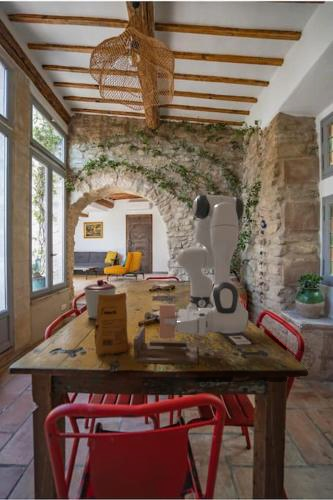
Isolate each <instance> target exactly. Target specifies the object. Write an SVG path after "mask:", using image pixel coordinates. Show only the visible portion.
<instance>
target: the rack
mask: <svg viewBox="0 0 333 500" xmlns="http://www.w3.org/2000/svg"><path fill="white" fill-rule="evenodd" d="M198 359H199V357H198V345H197V344H194V343H193V344H192V343H191V344H189V343H187V340H164V339H163V340H160V339H159V340H158V339H150V340H149V342H146V326H145V325H141V327H140V328H139V330H138V332H137V333H136V335H135V337H134V338H133V363H150V364H151V363H153V364H154V363H155V364H176V365H177V364H180V365H182V364H183V365H198Z"/></svg>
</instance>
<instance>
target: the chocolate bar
mask: <svg viewBox="0 0 333 500" xmlns="http://www.w3.org/2000/svg"><path fill="white" fill-rule="evenodd" d="M219 333H220V334H221V335H222V336H223V337H224V338H225V339H226V340H227V341H228V342H229V343H230V344H231V345H232V346H241V345H255V342H254V341H253V340H252V339H250V338H249V337H248V336H247V335H245V334H244V333H243V332H239V333H222V332H219Z"/></svg>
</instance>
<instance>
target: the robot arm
mask: <svg viewBox="0 0 333 500" xmlns="http://www.w3.org/2000/svg"><path fill="white" fill-rule="evenodd" d="M244 209H245V205H244V202H243V200H242V198H238V197H235V196H229V195H228V196H227V195H221V194H220V195H218V194H217V195H213V194H209V195H207V194H200V195H199V194H198V195H197V196H196V197H195V198H194V201H193V203H192V213H193V215H194V216H195V218H197V225H196V231H195V235H194V236H195V240H196V241H197V242H198V243H199V244H200V245H202V246H201V247H186V248H181V249H180V250H179V252H178V253H177V257H176V261H177V264H178V265H179V267H180V268H181V269H183V271H185V272H186V274H187V275H188V279H189V283H190V295H189V302H190V303H189V304H188V305H187V306H186V308H180V309H178V313H175V318H174V319H172V318H165V324H172V325H175V332H177V333H180V334H187V335H188V334H189V335H196V334H198V336H202V337H203V336H206V334H209V333H211V334H213V333H216V332H217V333H220V332H222V333H239V332H241V333H243V332H244V331H245V330H246V329H247V327H248V325H249V311H248V310H247V309H246V308H245V306H244V304H243V302H242V301H241V298H240V295H239V292H238V288H237V287H236V286H235V285H234V284H232V283H230V282H231V280H230V279H231V264H232V263H231V262H232V258H233V255H234V253H235V251H236V249H237V248H238V241H239V234H240V233H239V231H240V229H239V221H240V219H242V217H243V214H244ZM206 269H207V270H209V269H210V270H211V269H213V270H214V271H213V272H214V273H213V274H214V275H213V281H212V279H211V278H210V277H209V276H207V275H205V274H204V273H203V270H206Z"/></svg>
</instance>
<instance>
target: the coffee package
mask: <svg viewBox="0 0 333 500" xmlns="http://www.w3.org/2000/svg"><path fill="white" fill-rule="evenodd" d="M127 311H128V310H127V294H126V292H121V293H115V295H105V294H99V295H98V308H97V319H96V322H95V327H94V345H95V353H96V354H97V355H98V356H102V355H107V354H110V355H118V354H120V353H121V354H122V353H125V352H127V351H128V346H129V345H128V342H129V341H128V340H129V339H128V325H127V324H128V312H127Z"/></svg>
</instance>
